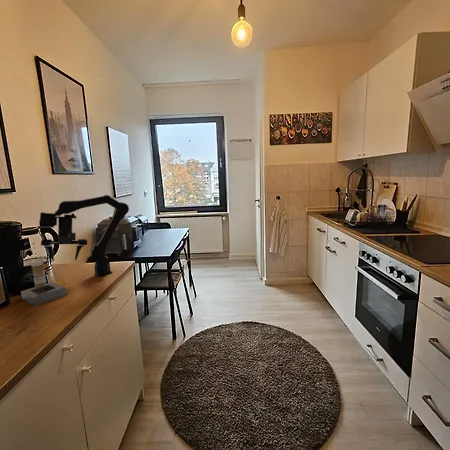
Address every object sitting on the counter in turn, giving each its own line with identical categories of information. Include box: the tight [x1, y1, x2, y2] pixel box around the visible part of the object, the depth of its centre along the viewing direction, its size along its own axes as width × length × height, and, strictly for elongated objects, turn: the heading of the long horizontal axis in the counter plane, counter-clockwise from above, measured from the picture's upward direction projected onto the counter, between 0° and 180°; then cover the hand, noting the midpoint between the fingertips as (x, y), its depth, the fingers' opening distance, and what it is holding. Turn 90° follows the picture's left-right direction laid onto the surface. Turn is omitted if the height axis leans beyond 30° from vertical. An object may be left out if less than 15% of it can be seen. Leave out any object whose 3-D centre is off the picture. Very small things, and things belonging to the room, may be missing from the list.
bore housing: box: [20, 281, 67, 307], centre depth 119 cm, size 12×12×4 cm
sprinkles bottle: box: [30, 259, 47, 287], centre depth 127 cm, size 5×5×14 cm
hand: (64, 260), depth 133 cm, fingers open, 9 cm apart
